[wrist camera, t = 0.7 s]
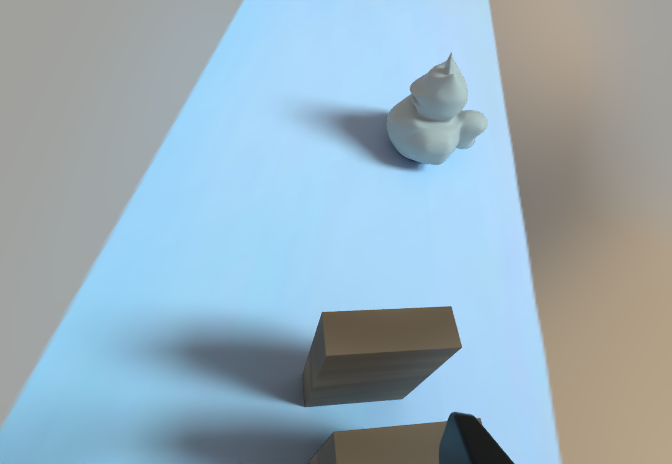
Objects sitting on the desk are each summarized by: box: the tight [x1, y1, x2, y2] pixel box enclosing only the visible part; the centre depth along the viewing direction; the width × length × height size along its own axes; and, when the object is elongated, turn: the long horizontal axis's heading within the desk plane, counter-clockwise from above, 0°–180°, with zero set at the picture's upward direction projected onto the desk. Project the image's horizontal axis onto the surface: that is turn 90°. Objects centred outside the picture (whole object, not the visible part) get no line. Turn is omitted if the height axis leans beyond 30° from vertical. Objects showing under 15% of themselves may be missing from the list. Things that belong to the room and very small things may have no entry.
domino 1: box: [303, 306, 462, 407], centre depth 20 cm, size 2×5×8 cm, turn 96°
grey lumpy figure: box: [387, 52, 487, 165], centre depth 30 cm, size 5×7×8 cm
